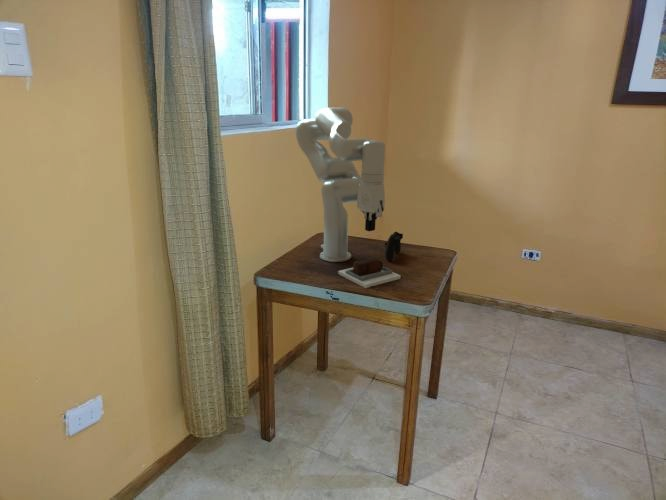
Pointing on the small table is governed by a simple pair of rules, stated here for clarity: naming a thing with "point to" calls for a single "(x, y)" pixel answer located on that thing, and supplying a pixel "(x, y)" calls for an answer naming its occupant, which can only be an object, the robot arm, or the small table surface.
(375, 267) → the brick
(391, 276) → the baseplate
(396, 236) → the gaming controller
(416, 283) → the small table surface
